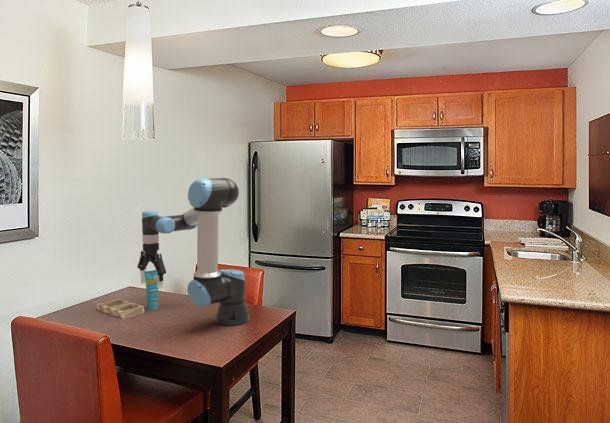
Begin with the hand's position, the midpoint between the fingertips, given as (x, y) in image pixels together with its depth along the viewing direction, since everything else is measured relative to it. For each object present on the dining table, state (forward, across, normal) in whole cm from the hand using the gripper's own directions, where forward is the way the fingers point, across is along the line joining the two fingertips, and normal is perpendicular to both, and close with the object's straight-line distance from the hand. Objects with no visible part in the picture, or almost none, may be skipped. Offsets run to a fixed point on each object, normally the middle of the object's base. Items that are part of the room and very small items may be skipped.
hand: (151, 285), depth 229 cm
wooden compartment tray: (+12, +8, +12) cm, 19 cm away
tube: (+12, 0, 0) cm, 12 cm away
